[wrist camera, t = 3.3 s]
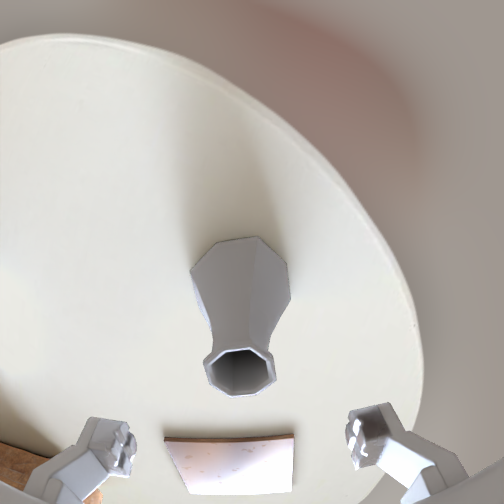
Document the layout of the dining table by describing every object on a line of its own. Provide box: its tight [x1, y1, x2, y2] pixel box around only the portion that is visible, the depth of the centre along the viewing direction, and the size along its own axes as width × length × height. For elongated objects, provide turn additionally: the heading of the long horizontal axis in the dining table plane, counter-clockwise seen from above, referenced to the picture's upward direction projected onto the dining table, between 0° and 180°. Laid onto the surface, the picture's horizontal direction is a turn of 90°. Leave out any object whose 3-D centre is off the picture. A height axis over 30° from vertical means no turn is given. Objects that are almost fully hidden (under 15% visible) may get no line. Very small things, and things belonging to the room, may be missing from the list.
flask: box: [190, 236, 291, 398], centre depth 17 cm, size 7×7×10 cm
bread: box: [0, 442, 103, 504], centre depth 25 cm, size 12×28×14 cm, turn 99°
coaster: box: [164, 434, 294, 495], centre depth 29 cm, size 14×14×1 cm
